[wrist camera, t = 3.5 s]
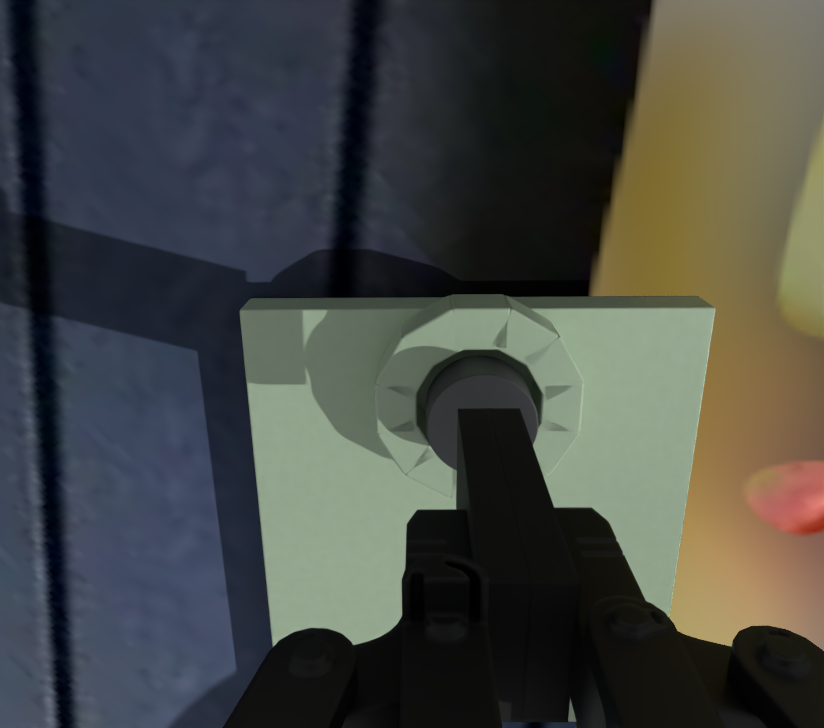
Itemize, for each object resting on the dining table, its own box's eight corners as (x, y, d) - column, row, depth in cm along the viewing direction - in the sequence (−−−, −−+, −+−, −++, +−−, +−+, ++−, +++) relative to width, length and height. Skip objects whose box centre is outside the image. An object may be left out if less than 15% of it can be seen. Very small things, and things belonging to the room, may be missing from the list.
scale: (248, 283, 21) (222, 309, 18) (700, 281, 21) (743, 307, 18) (286, 691, 27) (270, 759, 24) (642, 692, 27) (668, 760, 24)
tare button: (425, 354, 19) (426, 374, 18) (532, 354, 19) (541, 374, 18) (426, 450, 20) (426, 476, 19) (527, 450, 20) (535, 476, 19)
